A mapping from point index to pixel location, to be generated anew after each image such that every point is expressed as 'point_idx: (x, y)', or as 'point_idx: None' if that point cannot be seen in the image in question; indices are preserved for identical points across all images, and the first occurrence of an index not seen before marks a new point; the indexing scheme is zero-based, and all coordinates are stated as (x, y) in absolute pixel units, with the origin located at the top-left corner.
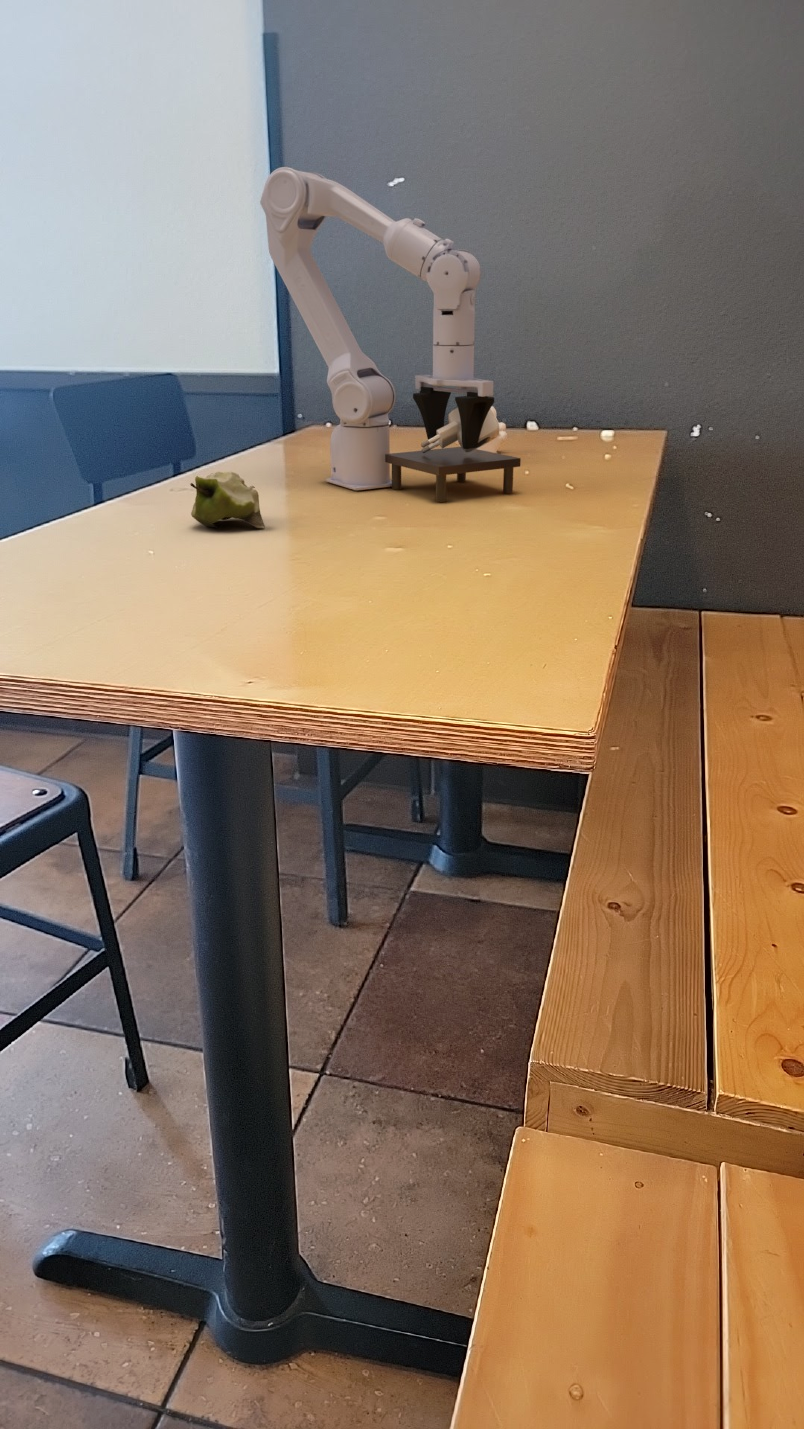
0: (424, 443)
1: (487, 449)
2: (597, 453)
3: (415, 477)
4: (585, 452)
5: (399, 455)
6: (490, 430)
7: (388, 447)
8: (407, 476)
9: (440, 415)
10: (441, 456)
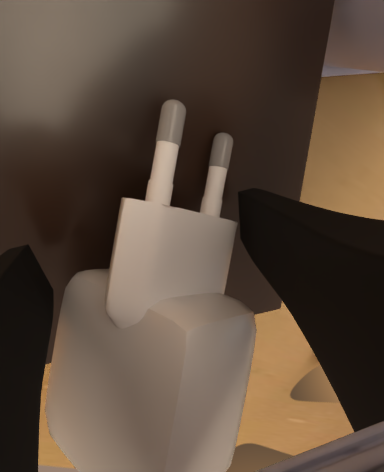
0: (163, 114)
1: None
2: (289, 449)
3: (334, 179)
4: (303, 441)
5: (265, 29)
6: (50, 392)
7: (377, 39)
8: (356, 168)
9: (299, 303)
10: (147, 181)
